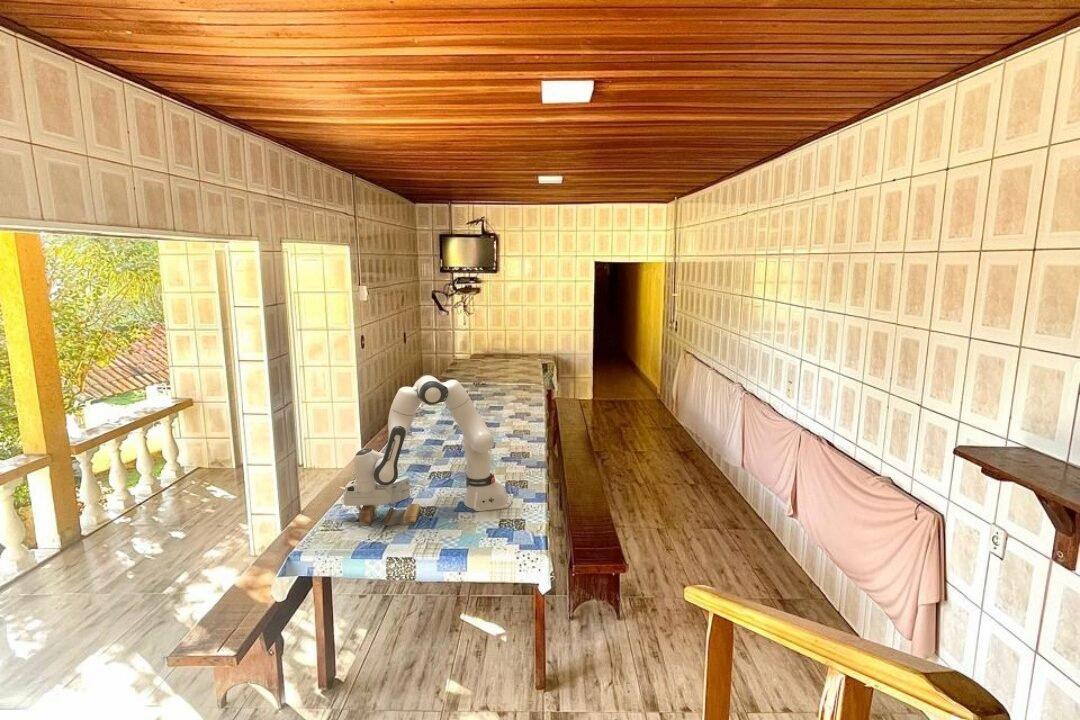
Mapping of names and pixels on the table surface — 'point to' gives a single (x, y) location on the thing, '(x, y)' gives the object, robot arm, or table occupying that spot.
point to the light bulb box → (399, 489)
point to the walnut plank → (366, 515)
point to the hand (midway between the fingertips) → (368, 513)
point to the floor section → (403, 515)
